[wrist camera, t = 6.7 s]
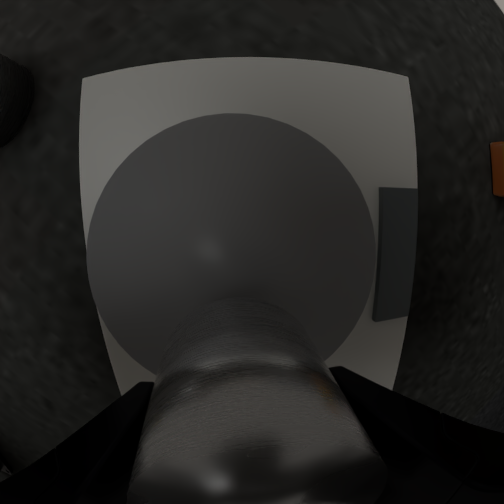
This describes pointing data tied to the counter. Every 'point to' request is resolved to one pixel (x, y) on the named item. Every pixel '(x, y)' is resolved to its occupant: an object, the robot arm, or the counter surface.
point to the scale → (250, 203)
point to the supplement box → (497, 167)
